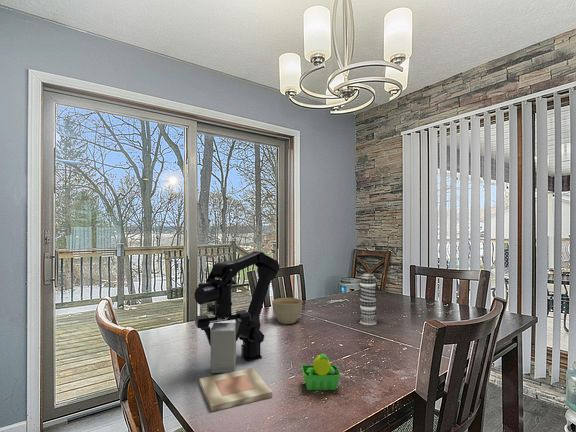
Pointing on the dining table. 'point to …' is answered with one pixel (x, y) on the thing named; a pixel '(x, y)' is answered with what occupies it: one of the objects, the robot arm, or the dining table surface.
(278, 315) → the planter bowl
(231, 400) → the birch base
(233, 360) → the skincare box
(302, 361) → the dining table surface
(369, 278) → the decorative candle
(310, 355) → the dining table surface
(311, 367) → the fruit basket
